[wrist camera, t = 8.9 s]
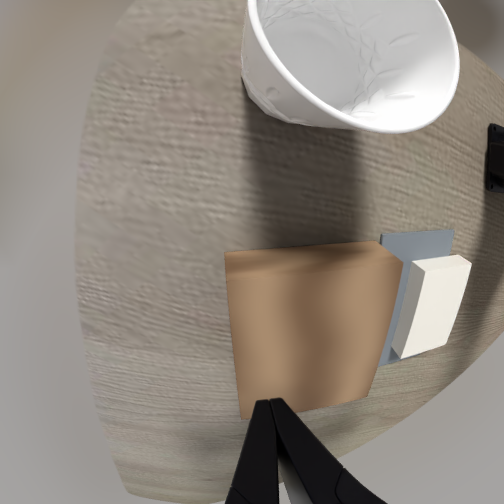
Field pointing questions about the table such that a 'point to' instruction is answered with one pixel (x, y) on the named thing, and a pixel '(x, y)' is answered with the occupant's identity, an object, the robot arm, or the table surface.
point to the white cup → (350, 62)
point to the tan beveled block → (309, 321)
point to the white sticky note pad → (430, 304)
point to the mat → (409, 250)
